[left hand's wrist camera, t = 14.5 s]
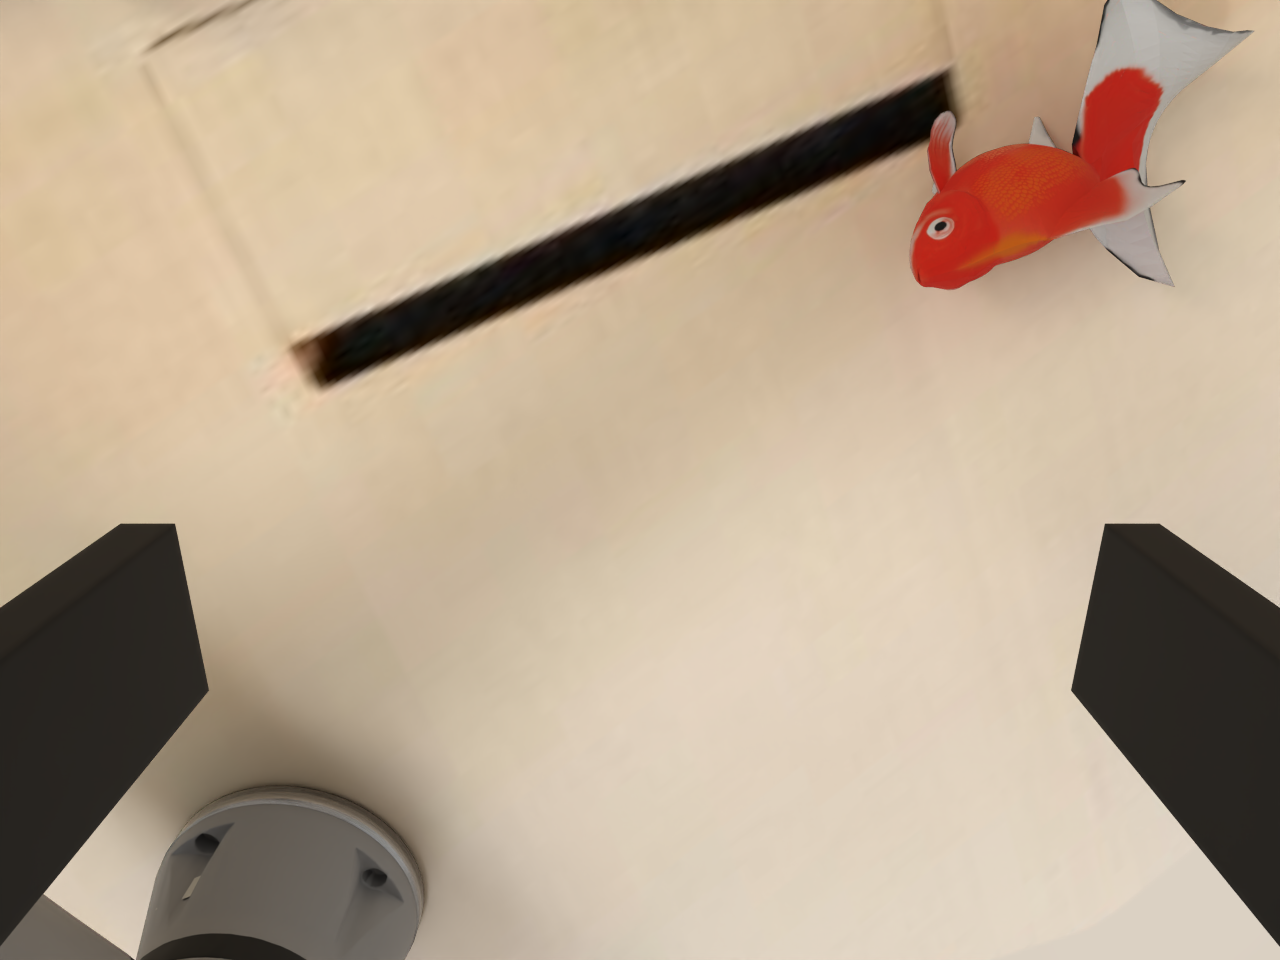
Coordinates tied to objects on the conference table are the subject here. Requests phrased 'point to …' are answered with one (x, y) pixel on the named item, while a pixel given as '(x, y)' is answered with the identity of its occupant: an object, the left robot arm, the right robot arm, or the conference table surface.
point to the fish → (1070, 159)
